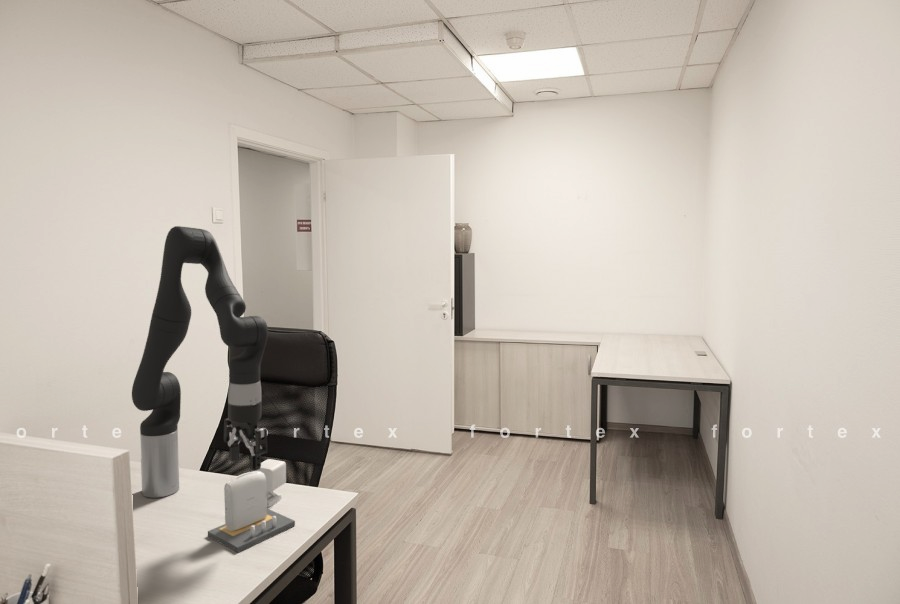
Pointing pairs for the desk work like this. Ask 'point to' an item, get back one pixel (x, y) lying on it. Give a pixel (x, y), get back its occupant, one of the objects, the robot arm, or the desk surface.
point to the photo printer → (245, 500)
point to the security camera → (273, 478)
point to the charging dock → (252, 531)
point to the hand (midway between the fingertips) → (245, 465)
